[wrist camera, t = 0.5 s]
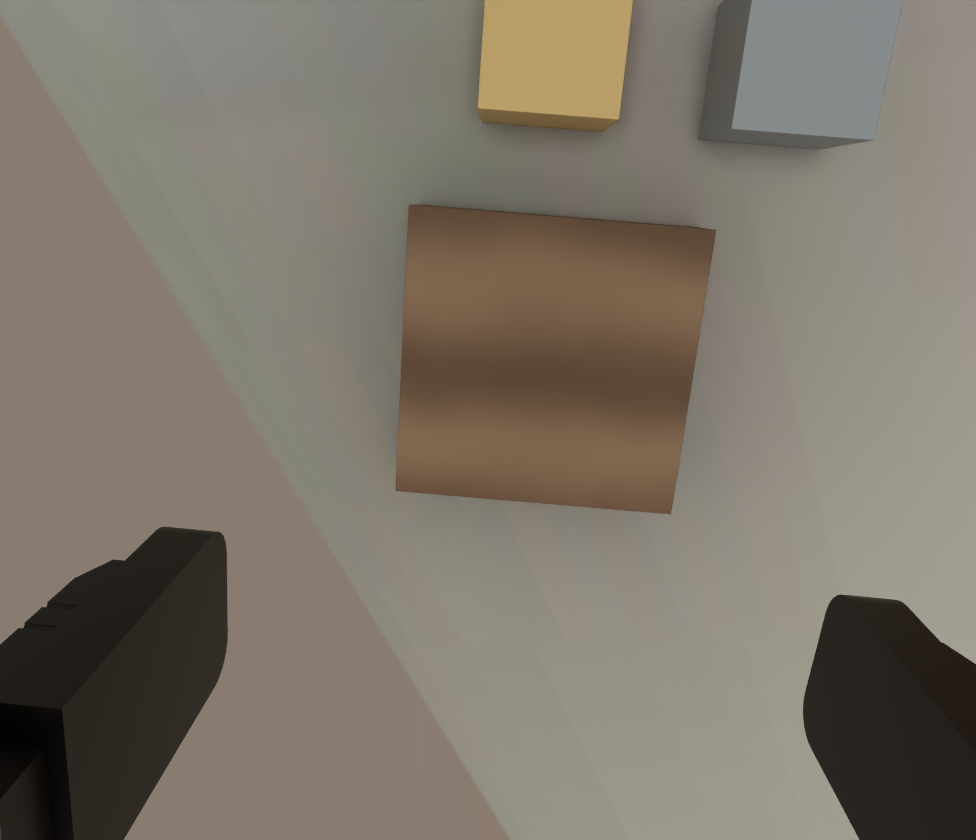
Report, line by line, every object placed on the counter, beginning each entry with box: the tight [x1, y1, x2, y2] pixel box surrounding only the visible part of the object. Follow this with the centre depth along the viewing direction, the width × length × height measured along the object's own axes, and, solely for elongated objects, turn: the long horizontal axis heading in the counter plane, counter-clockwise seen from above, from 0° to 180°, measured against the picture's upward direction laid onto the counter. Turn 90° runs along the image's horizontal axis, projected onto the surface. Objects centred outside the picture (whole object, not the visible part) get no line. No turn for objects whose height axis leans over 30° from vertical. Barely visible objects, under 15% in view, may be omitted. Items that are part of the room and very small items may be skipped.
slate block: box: [699, 0, 903, 149], centre depth 28 cm, size 5×5×5 cm
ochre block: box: [478, 0, 633, 132], centre depth 28 cm, size 5×5×5 cm
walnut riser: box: [396, 205, 716, 514], centre depth 32 cm, size 12×12×3 cm
